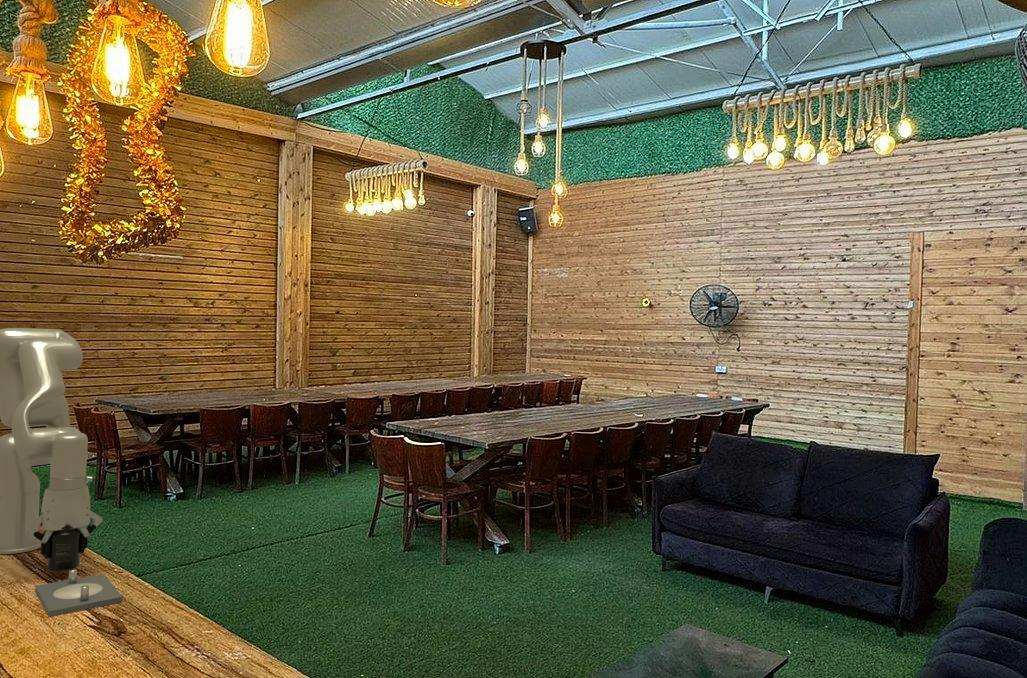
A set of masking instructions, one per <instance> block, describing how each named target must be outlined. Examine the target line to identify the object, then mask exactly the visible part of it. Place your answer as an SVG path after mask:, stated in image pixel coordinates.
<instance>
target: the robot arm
mask: <svg viewBox="0 0 1027 678" xmlns="http://www.w3.org/2000/svg"><path fill="white" fill-rule="evenodd" d="M83 359H84V355H83V350H82V347H81V345H80V344H79V342H78V341H77V340H76V338H74V337H72V336H71V335H70V334H68V333H67V332H65V331H64V330H61V329H56V328H33V327H32V328H31V327H7V328H0V421H1V423H2V424H3V425H4V426H6V427H9V428H11V432H10V433H6V434H4V435H2V436H0V555H11V554H12V555H13V554H23V553H26V552H27V553H28V552H31V551H35V550H37V549H40V555H41V556H43V558H44V560H47V559H48V558H49V548H50V543H49V541H48V539H49V537H50V536H51V534H52V532H53V531H60V530H63V529H61V528H62V527H64V526H65V525H67V523H68V526H69V524H70V526H72V527H73V528H70V529H77V528H78V529H79V530H80V531H81V546H80V554H85V550H86V549H88V538H89V537H90V535H91V534H92V533H93V532H94V531H95V530H96V529H97V527H98V526H99V525H100V524H102V523H103V517H102V516H100V515H98V514H97V513H95V512H93V511H92V510H91V497H90V496H91V495H90V489H89V485H87V484H88V483H89V482H91V483H92V482H93V476H92V475H91V476H90V475H89V476H88V475H87V463H88V444H89V441H88V440H89V438H88V436H87V434H85V433H83V432H81V431H80V430H79V429H78V428H77V427H74V426H71V422H70V410H69V409H70V407H69V403H68V400H67V398H66V397H65V395H64V394H66V393H65V392H66V386H65V383H64V378H63V373H62V371H74V370H77V369H79V368H80V367H81V365H82V363H83ZM41 426H45V427H46V428H45V427H44V428H33V429H31V428H30V427H41ZM42 465H50V471H49V472H50V473H49V485H48V486H49V487H48V488H46V489H45V490H44V493H43V497H42V502H41V510H40V494H41V492H40V491H41V482H40V479H39V477H38V475H36V474H35V473H34V472H33V471H32V469H31V467H35V466H36V467H37V466H42ZM91 519H92V520H93V521H92V523H91ZM39 526H40V527H42V530H43V531H42V533H41V532H40V531H39Z"/></svg>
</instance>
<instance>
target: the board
mask: <svg viewBox="0 0 1027 678" xmlns="http://www.w3.org/2000/svg"><path fill="white" fill-rule="evenodd" d="M34 589H35V590H34V592H35V593H36V596H37V597H38V599H39V601H40V603H41V604H42V606H43V608H44V610H45V612H46V614H47V616H48V617H49V618H50V617H54V616H60V615H65V614H70V613H74V611H75V612H79V611H78V610H80V611H85V610H89V609H95V608H101V607H104V606H109V605H114V604H120V603H123V595H121V593H120V592H119V590H117V588H116V587H115V586H114V585H113V583H112V582H111V581H110V580H109V578H108V577H107V576H106V575H105V574H104V573H102V574H95V575H90V576H84V577H79V578H78V568H74V569H71V570H68V579H66V580H61V581H55V582H49V583H44V584H39V585H35V587H34ZM84 609H85V610H84Z"/></svg>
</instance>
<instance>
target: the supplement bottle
mask: <svg viewBox="0 0 1027 678" xmlns="http://www.w3.org/2000/svg"><path fill="white" fill-rule="evenodd" d="M70 528H73V527H72V526H70V524H69V526H68V523H67V525H65V526H64V527H62V528H61V529H63V530H60V531H53V532H52V534H51V536H50V537H49V539H48V541H49V543H50V548H49V558H48V559H46V560H47V561H46V563H47V564H46V567H47V568H46V569H47V570H49V571H51V572H66V571H69V570H71V569H77V568H78V567H79V566H80V561H81V553H80V546H81V531H80V529H79V528H77V529H70Z"/></svg>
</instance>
